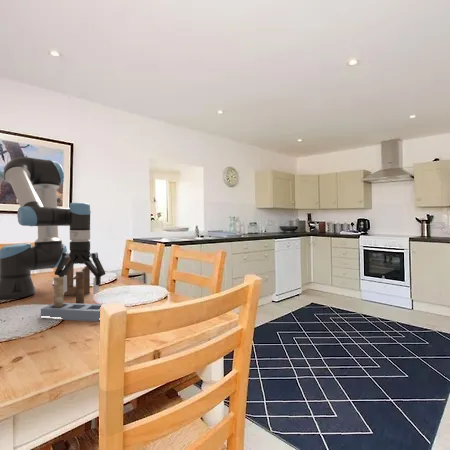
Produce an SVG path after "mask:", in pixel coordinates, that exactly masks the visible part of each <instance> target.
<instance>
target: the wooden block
mask: <svg viewBox="0 0 450 450" xmlns="http://www.w3.org/2000/svg"><path fill="white" fill-rule="evenodd" d="M70 260H71V258H70V256H69V257H68V259H67V262H66V264H65V266H66V265H67V264H68V262H69V261H70ZM65 266H64V267H65ZM74 266H75V264H74V265H73V266H72V267H71V268H70V269H69V271H68V272H67V273H66V274H65V275H64V276H67V292H64V293H63V296H70V295H71V296H72V295H73V296H74V295H76V284H74V280H76V275H75V276H74ZM80 271H84V295H86V294H90V293H91V292H90V291H91V278H90V277H91V275H90V274H91V271H90V269H89V268H88V267H87V266H86V265H85V266H84V268H82V269H81V270H80Z"/></svg>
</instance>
